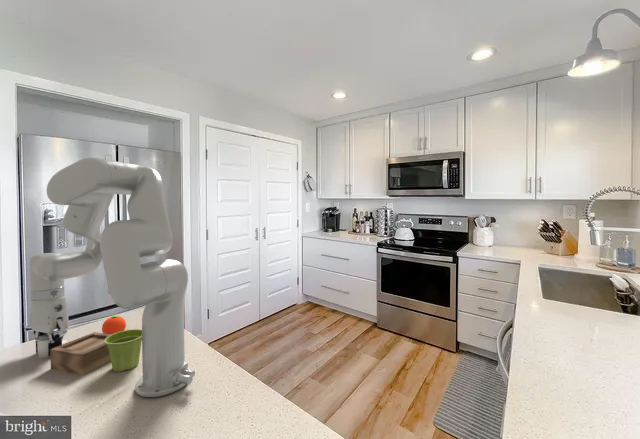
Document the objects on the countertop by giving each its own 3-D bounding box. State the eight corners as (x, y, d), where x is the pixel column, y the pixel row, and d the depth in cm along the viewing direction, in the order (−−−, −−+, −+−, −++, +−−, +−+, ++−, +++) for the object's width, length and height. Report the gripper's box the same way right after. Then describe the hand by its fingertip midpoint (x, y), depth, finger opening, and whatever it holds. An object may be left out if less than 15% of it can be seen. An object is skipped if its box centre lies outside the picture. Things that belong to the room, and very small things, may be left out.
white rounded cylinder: (64, 351, 89) (63, 332, 89) (44, 359, 84) (44, 339, 84) (53, 349, 90) (53, 330, 90) (33, 357, 86) (33, 337, 85)
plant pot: (125, 377, 75) (124, 344, 74) (96, 373, 77) (95, 341, 76) (153, 359, 84) (152, 330, 84) (126, 356, 86) (125, 328, 86)
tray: (124, 354, 88) (124, 336, 87) (83, 376, 76) (82, 354, 76) (94, 350, 91) (94, 332, 90) (50, 370, 79) (50, 349, 79)
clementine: (104, 333, 102) (104, 313, 102) (127, 329, 106) (127, 310, 106) (99, 342, 95) (99, 321, 95) (124, 337, 99) (124, 317, 99)
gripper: (80, 292, 88) (82, 351, 88) (44, 288, 93) (45, 343, 93) (51, 299, 81) (52, 363, 81) (14, 294, 86) (15, 354, 86)
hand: (49, 352), depth 87 cm, fingers closed on white rounded cylinder, 5 cm apart
